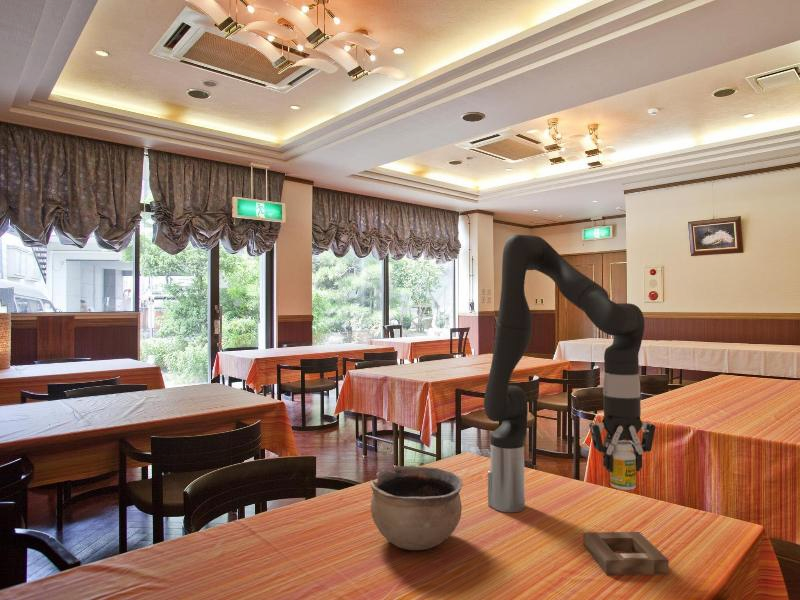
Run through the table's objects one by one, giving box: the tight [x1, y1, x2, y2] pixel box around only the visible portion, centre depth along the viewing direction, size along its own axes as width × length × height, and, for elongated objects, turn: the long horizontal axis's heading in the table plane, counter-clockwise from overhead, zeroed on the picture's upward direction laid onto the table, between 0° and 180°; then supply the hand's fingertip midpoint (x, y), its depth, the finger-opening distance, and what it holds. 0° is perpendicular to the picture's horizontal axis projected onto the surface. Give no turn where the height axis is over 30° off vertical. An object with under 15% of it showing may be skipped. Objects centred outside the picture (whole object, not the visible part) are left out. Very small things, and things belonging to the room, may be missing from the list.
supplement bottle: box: [609, 440, 637, 491], centre depth 113 cm, size 5×5×10 cm
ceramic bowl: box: [370, 465, 463, 551], centre depth 122 cm, size 22×22×15 cm
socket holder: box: [582, 531, 670, 576], centre depth 113 cm, size 13×13×3 cm
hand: (622, 470), depth 113 cm, fingers closed on supplement bottle, 5 cm apart
